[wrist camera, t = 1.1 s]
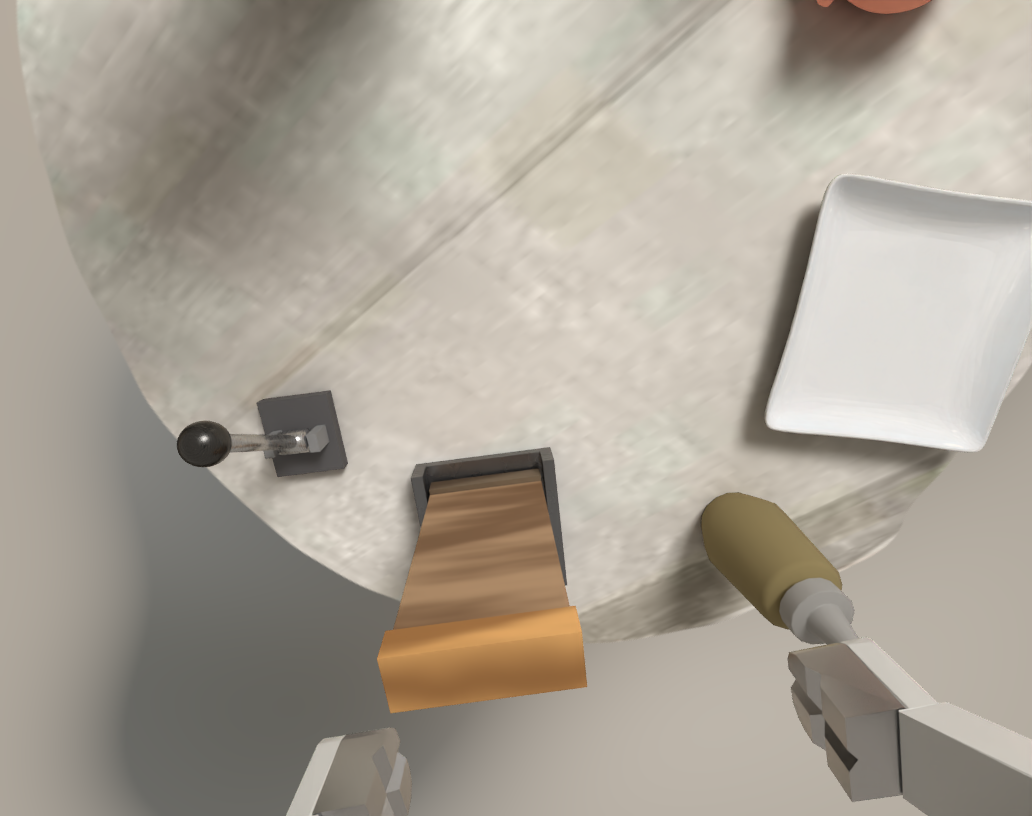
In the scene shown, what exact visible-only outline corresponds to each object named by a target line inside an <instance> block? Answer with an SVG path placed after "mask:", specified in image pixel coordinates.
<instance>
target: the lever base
mask: <svg viewBox="0 0 1032 816" xmlns="http://www.w3.org/2000/svg"><path fill="white" fill-rule="evenodd" d="M257 406H258V410H259V413H260V417H261V420H262V424H263V427H264V431H265V434H266V435H277V433H279V432H285V431H293V430H301V429H310V430H311V431H310V432H309V433H308V434H306V437H307V441H308V445H309V448H310V452H305V453H298V454H290V455H280V454H279V453H278V452H277V450H268V451H263V452H264V455H265V459H266V458H272V459H273V462H274V466H275V469H276V473H277V476H278V477H282V476H289V475H297V474H305V473H313V472H320V471H328V470H336V469H344V468H345V466H346V465H347V464H348V462H347V458H346V453H345V449H344V445H343V441H342V437H341V432H340V428H339V424H338V420H337V415H336V411H335V407H334V403H333V399H332V394H331V391H323V392H315V393H308V394H300V395H292V396H284V397H276V398H268V399H262V400H261V401H259V402H257Z"/></svg>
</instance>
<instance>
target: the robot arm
mask: <svg viewBox="0 0 1032 816" xmlns="http://www.w3.org/2000/svg"><path fill="white" fill-rule="evenodd" d="M788 667H789V670H790V672H791V673H792V674H793V676H794V677H795V679H796V680H795V682H794V683H793V685H792V687H791V692H792V699H793V703H794V706H795V709H796V712H797V715H798V718H799V720H800V721H801V724H802V726H803V728H804V730H805V731H806V733H807V734H808V736H809V737H810V739H811V741H812V742H813V743H814V744H816V745H818V746H819V747H821V748H822V749H824V750H826V754H827V762H828V766H829V768H830V769H831V771H832V772H833V774H834V775H835V777H836V778H837V780H838V781H839V783H840V784H841V786H842V787H843V789H844V790H845V792H846V793H847V795H848V796H849V798H850V799H851V801H852V802H854V801H862V800H870V799H877V798H884V797H892V796H899V795H903V798H904V799H905V800H907V801H908V802H909V803H911V804H912V805H914V806H915V807H917V808H918V809H919V810H921V811H922V812H923V813H925V814H926V815H928V816H1032V740H1031V739H1029V738H1027V737H1025V736H1022V735H1020V734H1017V733H1016V732H1013V731H1011V730H1009V729H1007V728H1004V727H1002V726H1000V725H998V724H995V723H993V722H991V721H989V720H987V719H984V718H982V717H980V716H978V715H975V714H973V713H971V712H969V711H966V710H964V709H962V708H960V707H957V706H955V705H953V704H951V703H948V702H943V703H938V702H937V701H936V700H935V699H933V698H932V697H931V696H930V695H929V694H928V693H927V692H926V691H925V690H924V689H923V688H922V687H921V686H920V685H919V684H918V683H917V682H916V681H915V680H914V679H913V678H911V676H909V675H908V674H907V673H906V672H905V671H904V670H903V669H902V668H901V667H900V666H899V665H898V664H897V663H896V662H895V661H894V660H893V659H892V658H891V657H890V656H889V655H888V654H887V653H886V652H884V650H883V649H882V648H880V647H879V646H878V645H877V644H876V643H875V642H874V641H873V640H871V639H869V638H867V637H863V638H858V639H853V640H848V641H843V642H840V643H833V644H828V645H823V646H818V647H813V648H809V649H803V650H799V651H793V652H789V655H788ZM399 745H400V739H399V736H398V734H397V731H396V729H395V728H391V727H390V728H384V729H378V730H371V731H366V732H359V733H352V734H347V735H344V736H337V737H330V738H324V739H323V740H322V741H321V742H320V743H319V744H318V745H317V747H316V749H315V751H314V754H313V756H312V758H311V760H310V763H309V765H308V767H307V769H306V772H305V774H304V776H303V778H302V780H301V783H300V785H299V787H298V790H297V792H296V794H295V796H294V798H293V801H292V803H291V805H290V807H289V810H288V812H287V814H286V816H407V815H408V812H409V807H410V802H411V787H412V781H411V773H410V767H409V764H408V761H407V759H406V758H405V757H404V756H402V755H401V754H400V753H399V752H398V749H399Z"/></svg>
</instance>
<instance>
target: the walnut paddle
mask: <svg viewBox="0 0 1032 816" xmlns="http://www.w3.org/2000/svg"><path fill="white" fill-rule="evenodd" d="M429 492H430V497H429V501H428V504H427V508H426V512H425V515H424V519H423V523H422V526H421V530H420V534H419V537H418V541H417V545H416V548H415V552H414V556H413V559H412V563H411V566H410V570H409V574H408V577H407V581H406V585H405V588H404V592H403V596H402V599H401V603H400V607H399V610H398V614H397V618H396V621H395V625H394V628H393V630H389V631H385V634H384V637H383V641H382V644H381V647H380V651H379V654H378V658H377V661H378V665H379V669H380V672H381V677H382V681H383V685H384V689H385V693H386V697H387V700H388V705H389V709H390V713H396V712H404V711H411V710H418V709H426V708H433V707H441V706H449V705H456V704H463V703H471V702H478V701H485V700H493V699H500V698H508V697H516V696H523V695H531V694H538V693H546V692H553V691H561V690H568V689H575V688H582V687H587V680H586V670H585V659H584V650H583V639H582V631H581V626H580V622H579V618H578V614H577V610H576V606H569V602H568V597H567V593H566V588H565V584H564V580H563V575H562V571H561V566H560V562H559V557H558V553H557V548H556V544H555V540H554V535H553V531H552V526H551V522H550V517H549V513H548V509H547V504H546V500H545V495H544V491H543V486H542V482H541V475H540V471H539V469H531V470H523V471H516V472H508V473H500V474H492V475H485V476H477V477H469V478H461V479H454V480H446V481H438V482H431V485H430V489H429Z"/></svg>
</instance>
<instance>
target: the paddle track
mask: <svg viewBox="0 0 1032 816" xmlns="http://www.w3.org/2000/svg"><path fill="white" fill-rule="evenodd" d="M531 469H539V471H540V475H541V482H542V486H543V491H544V495H545V500H546V504H547V509H548V513H549V517H550V522H551V526H552V531H553V535H554V540H555V544H556V548H557V553H558V557H559V562H560V566H561V571H562V575H563V580H564V584H565V585H567V580H566V570H565V561H564V551H563V542H562V532H561V522H560V513H559V503H558V494H557V484H556V475H555V465H554V458H553V455H552V452H551V449H550V447H549V448H541V449H533V450H525V451H517V452H510V453H502V454H494V455H486V456H479V457H471V458H463V459H455V460H448V461H440V462H432V463H424V464H416V466H415V469H414V471H413V474H412V477H411V481H412V486H413V491H414V496H415V501H416V506H417V511H418V516H419V521H420V526H422V523H423V519H424V515H425V512H426V508H427V504H428V501H429V497H430V492H429V489H430V485H431V482H438V481H446V480H454V479H461V478H469V477H477V476H485V475H492V474H500V473H508V472H516V471H523V470H531Z"/></svg>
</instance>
